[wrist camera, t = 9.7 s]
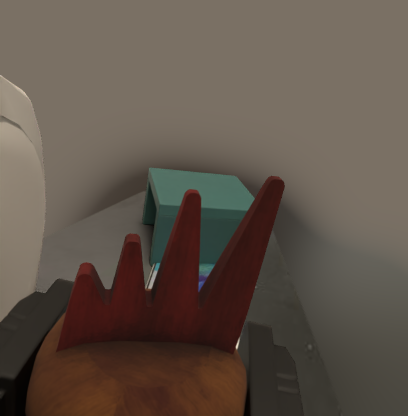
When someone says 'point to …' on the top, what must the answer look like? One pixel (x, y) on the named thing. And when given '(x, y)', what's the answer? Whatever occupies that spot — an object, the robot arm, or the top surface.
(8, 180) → the soap bottle
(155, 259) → the shelf
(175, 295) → the wooden figurine
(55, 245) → the top surface
